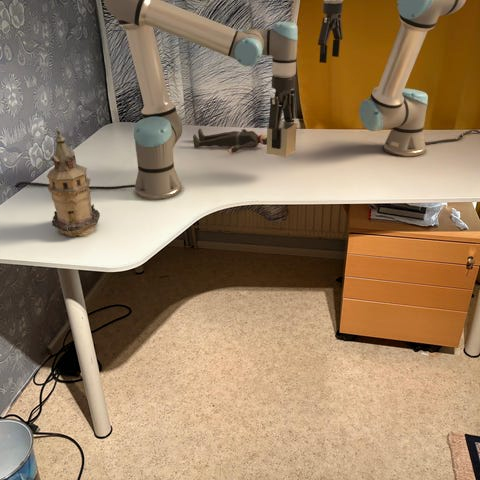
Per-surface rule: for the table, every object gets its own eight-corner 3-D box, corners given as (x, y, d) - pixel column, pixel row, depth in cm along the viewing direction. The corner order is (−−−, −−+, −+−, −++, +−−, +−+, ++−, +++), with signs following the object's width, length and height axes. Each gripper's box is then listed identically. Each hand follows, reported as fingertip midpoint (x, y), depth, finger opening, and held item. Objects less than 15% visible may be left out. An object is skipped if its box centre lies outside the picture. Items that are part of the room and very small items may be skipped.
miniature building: (80, 214, 164) (63, 117, 149) (111, 225, 157) (96, 125, 142) (44, 231, 154) (22, 130, 140) (75, 244, 147) (55, 139, 133)
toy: (204, 122, 226) (274, 122, 220) (205, 136, 229) (274, 137, 223) (186, 142, 204) (264, 143, 198) (188, 157, 207) (264, 159, 201)
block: (295, 150, 183) (296, 123, 178) (286, 157, 177) (287, 129, 173) (276, 147, 186) (277, 120, 181) (266, 153, 181) (267, 125, 176)
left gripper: (287, 67, 178) (284, 134, 190) (258, 80, 163) (256, 151, 175) (307, 70, 175) (303, 137, 186) (280, 83, 160) (277, 155, 171)
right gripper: (335, -2, 217) (331, 53, 228) (311, 5, 198) (308, 64, 209) (353, -1, 214) (348, 54, 224) (330, 6, 195) (326, 66, 205)
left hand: (281, 144), depth 181 cm, fingers closed on block, 7 cm apart
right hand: (329, 59), depth 217 cm, fingers open, 13 cm apart
